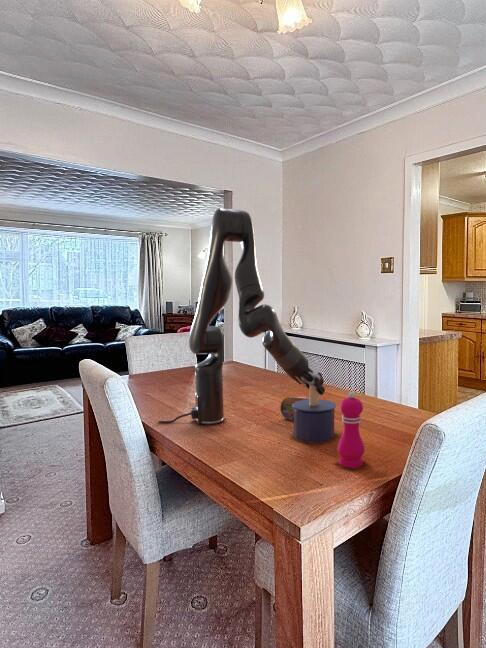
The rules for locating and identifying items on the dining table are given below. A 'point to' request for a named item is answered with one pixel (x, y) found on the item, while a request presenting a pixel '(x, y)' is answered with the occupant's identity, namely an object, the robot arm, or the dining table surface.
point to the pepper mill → (351, 433)
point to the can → (313, 425)
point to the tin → (289, 406)
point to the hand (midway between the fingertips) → (318, 391)
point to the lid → (314, 403)
